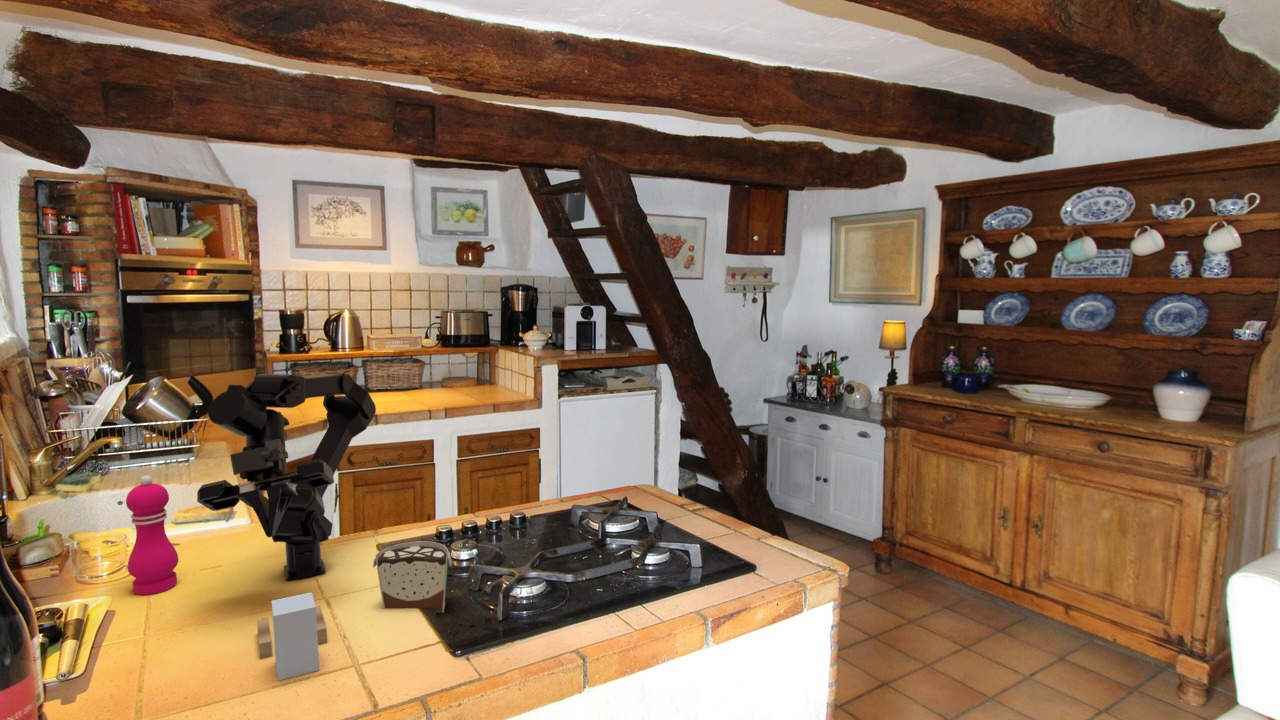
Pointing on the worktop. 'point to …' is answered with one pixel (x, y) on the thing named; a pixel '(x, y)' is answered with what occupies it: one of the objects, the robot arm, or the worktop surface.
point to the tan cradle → (265, 636)
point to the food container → (413, 575)
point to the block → (295, 635)
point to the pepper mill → (151, 540)
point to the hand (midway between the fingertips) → (270, 536)
